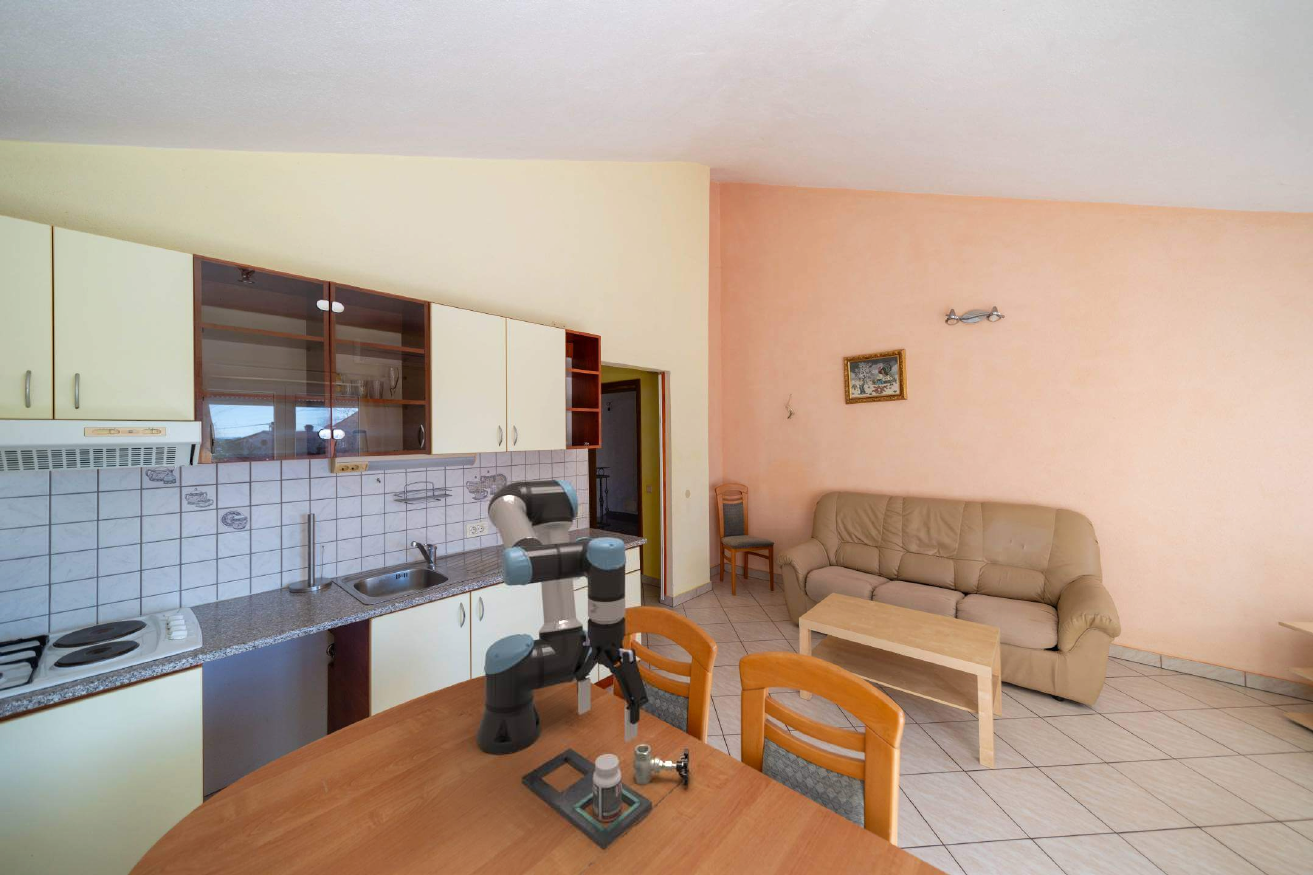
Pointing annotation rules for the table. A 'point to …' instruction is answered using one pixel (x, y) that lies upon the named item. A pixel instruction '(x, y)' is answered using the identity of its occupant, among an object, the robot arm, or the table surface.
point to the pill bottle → (607, 788)
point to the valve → (657, 765)
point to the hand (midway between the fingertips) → (606, 724)
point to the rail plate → (584, 799)
